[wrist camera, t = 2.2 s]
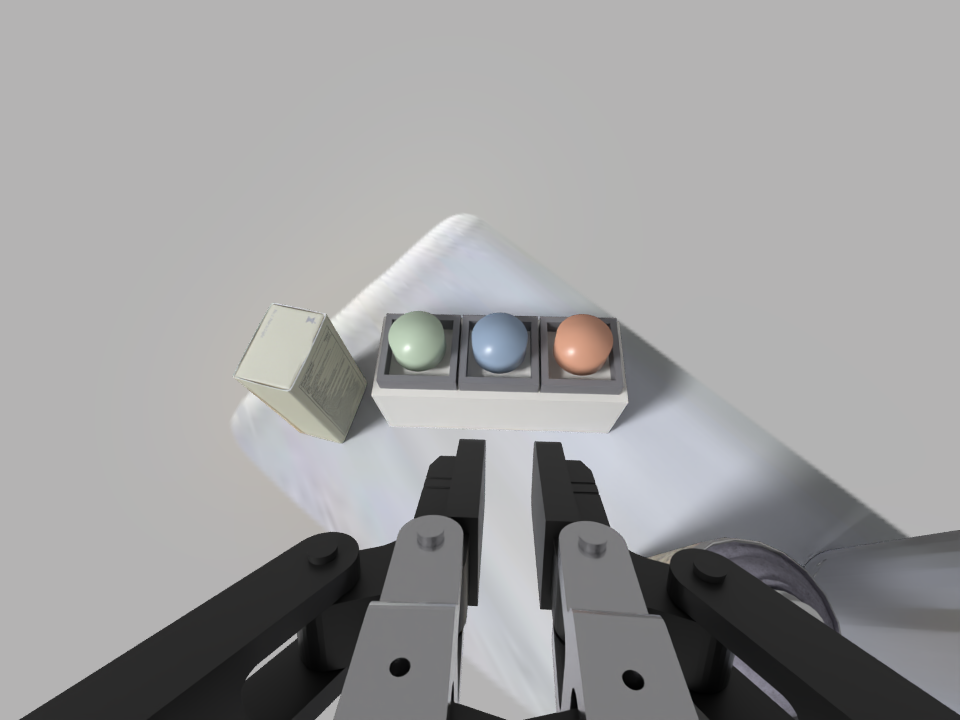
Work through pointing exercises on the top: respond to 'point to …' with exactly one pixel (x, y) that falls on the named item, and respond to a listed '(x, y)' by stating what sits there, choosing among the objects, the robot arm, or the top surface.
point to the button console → (500, 385)
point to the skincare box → (303, 372)
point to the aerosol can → (778, 576)
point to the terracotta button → (582, 344)
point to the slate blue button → (499, 342)
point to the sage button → (417, 341)
